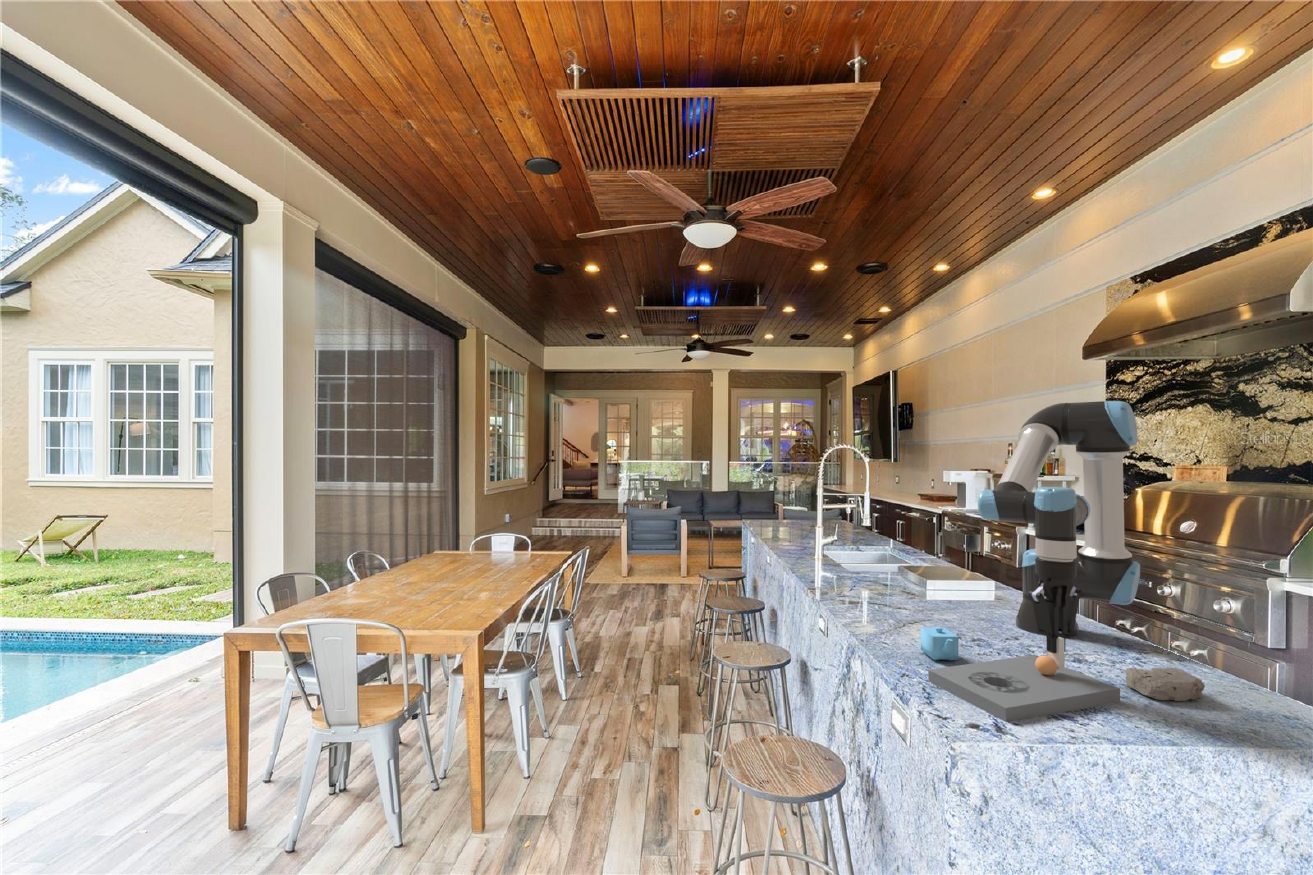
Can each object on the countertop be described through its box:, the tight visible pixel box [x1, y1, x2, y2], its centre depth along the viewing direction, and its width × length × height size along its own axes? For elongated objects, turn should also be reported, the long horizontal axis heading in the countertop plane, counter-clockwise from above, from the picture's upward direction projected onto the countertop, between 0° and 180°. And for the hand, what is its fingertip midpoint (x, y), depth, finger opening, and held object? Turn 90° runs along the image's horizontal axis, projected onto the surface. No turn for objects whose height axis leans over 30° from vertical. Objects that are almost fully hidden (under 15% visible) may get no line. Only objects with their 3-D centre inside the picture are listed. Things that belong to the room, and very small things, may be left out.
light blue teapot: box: [920, 626, 959, 662], centre depth 147 cm, size 12×6×8 cm, turn 178°
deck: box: [927, 654, 1121, 723], centre depth 128 cm, size 30×20×3 cm, turn 107°
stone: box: [1125, 666, 1206, 702], centre depth 127 cm, size 13×6×10 cm
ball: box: [1035, 655, 1057, 675], centre depth 130 cm, size 4×4×4 cm
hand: (1056, 666), depth 130 cm, fingers closed
